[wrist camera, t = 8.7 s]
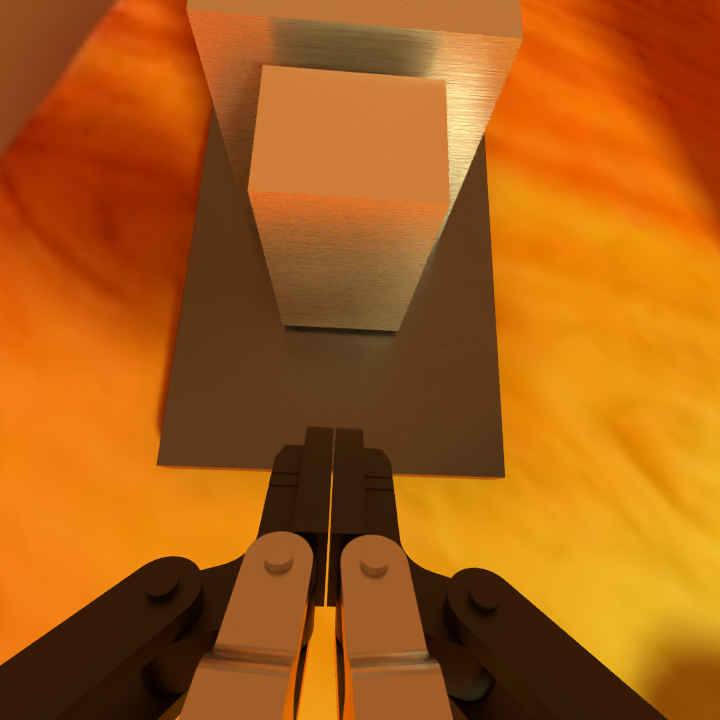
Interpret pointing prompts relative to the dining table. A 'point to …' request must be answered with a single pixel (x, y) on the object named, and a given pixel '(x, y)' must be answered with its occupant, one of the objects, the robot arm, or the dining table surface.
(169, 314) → the dining table surface
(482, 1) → the shaft housing
